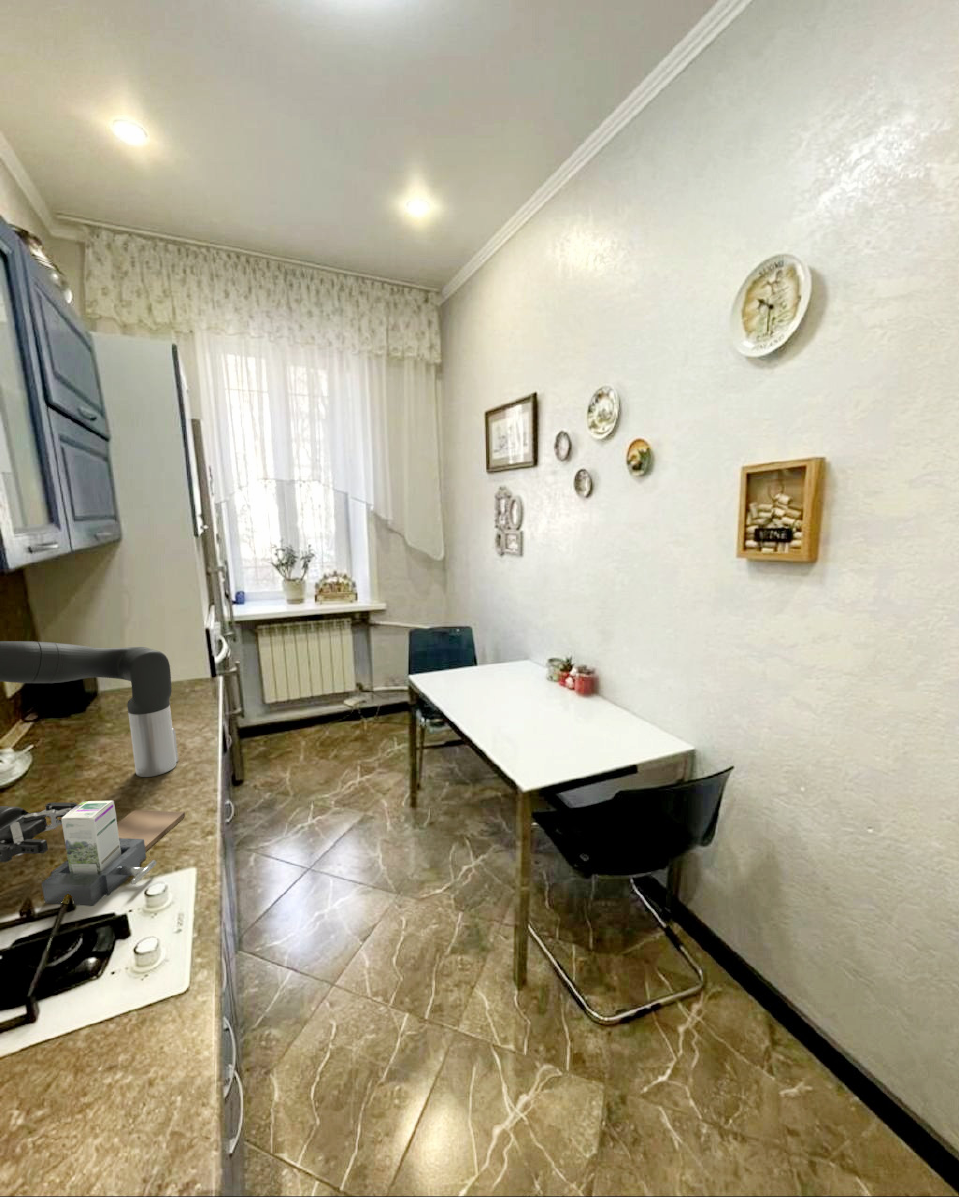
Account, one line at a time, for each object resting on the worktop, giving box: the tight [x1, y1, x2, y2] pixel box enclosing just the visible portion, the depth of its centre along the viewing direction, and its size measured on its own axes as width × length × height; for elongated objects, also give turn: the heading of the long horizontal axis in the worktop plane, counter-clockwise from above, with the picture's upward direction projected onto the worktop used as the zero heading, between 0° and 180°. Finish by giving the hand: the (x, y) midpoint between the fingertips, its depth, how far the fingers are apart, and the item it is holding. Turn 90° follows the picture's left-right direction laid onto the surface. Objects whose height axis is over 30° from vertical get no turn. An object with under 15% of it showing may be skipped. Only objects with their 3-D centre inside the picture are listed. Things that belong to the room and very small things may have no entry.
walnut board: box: [117, 809, 186, 852], centre depth 107 cm, size 12×12×1 cm
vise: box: [41, 838, 157, 907], centre depth 92 cm, size 12×15×4 cm
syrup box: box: [60, 800, 121, 875], centre depth 91 cm, size 6×6×14 cm
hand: (67, 831), depth 91 cm, fingers open, 8 cm apart
